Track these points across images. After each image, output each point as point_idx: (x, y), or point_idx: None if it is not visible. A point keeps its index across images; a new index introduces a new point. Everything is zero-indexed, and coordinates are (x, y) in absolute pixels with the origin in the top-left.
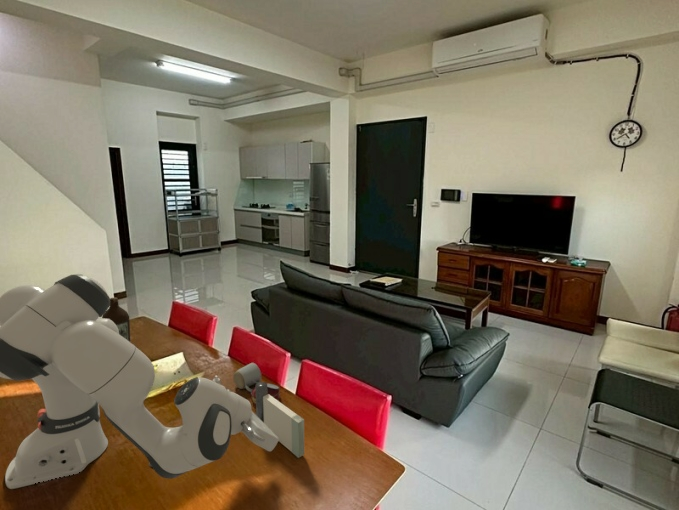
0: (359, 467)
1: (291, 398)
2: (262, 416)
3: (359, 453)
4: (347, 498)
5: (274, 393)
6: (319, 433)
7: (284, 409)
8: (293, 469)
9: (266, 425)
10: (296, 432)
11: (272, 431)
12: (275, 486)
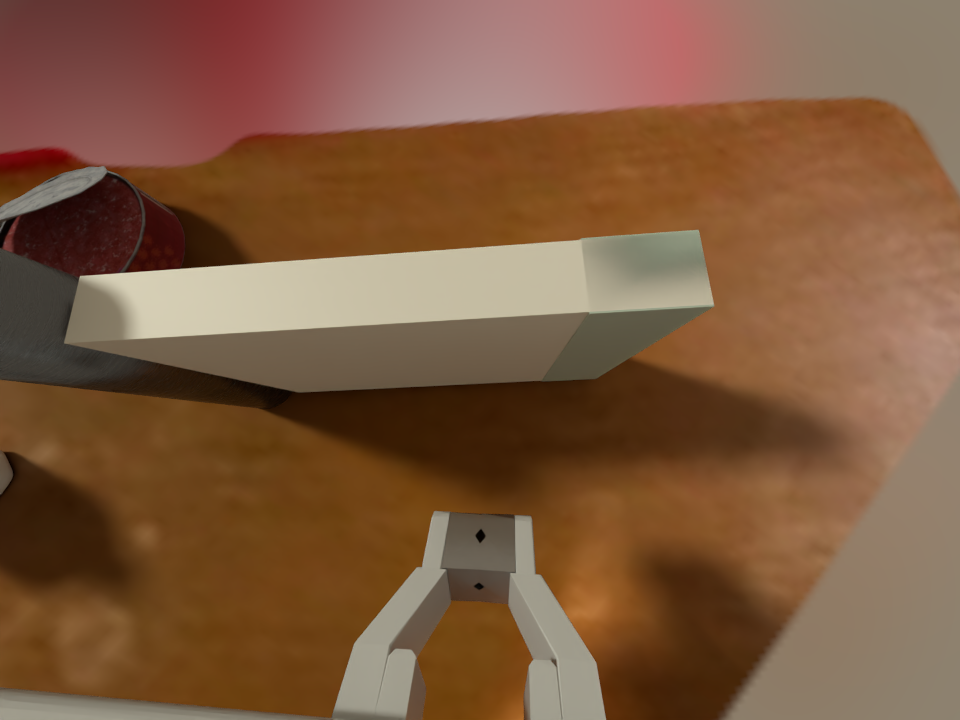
0: (797, 206)
1: (218, 170)
2: (237, 381)
3: (725, 158)
4: (927, 351)
5: (123, 210)
6: (508, 210)
7: (413, 291)
8: (630, 434)
9: (435, 530)
10: (629, 344)
11: (531, 519)
12: (674, 569)
